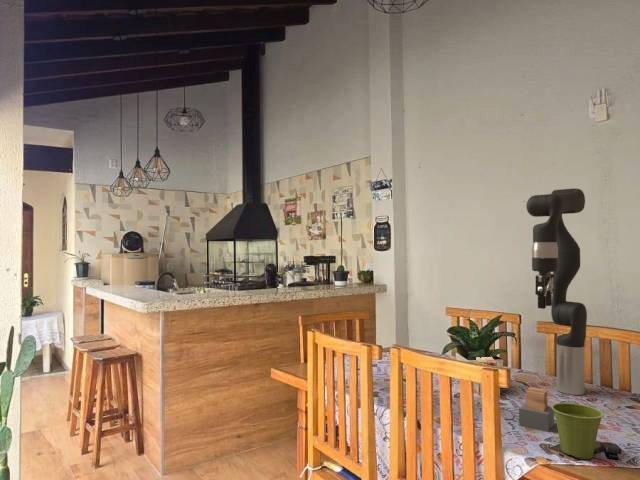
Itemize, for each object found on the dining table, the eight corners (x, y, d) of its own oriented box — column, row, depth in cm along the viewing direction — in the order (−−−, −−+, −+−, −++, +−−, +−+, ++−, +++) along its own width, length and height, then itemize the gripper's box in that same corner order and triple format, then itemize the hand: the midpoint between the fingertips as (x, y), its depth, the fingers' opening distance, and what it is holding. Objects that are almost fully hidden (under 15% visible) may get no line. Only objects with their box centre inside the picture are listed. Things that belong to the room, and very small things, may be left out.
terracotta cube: (529, 403, 143) (529, 387, 143) (547, 407, 140) (547, 390, 140) (525, 407, 139) (525, 391, 139) (543, 411, 136) (543, 394, 136)
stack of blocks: (468, 379, 188) (468, 348, 188) (484, 379, 187) (484, 349, 187) (478, 395, 167) (478, 361, 167) (496, 396, 166) (497, 362, 166)
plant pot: (615, 460, 116) (614, 414, 116) (579, 467, 112) (579, 420, 112) (574, 441, 127) (574, 400, 127) (540, 447, 123) (540, 404, 123)
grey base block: (525, 417, 145) (525, 401, 145) (554, 423, 140) (554, 406, 140) (519, 425, 138) (519, 408, 139) (548, 431, 134) (548, 414, 134)
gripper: (537, 256, 157) (537, 304, 156) (526, 256, 146) (526, 308, 145) (562, 256, 152) (562, 306, 152) (552, 256, 141) (553, 310, 141)
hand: (544, 307), depth 149 cm, fingers open, 8 cm apart
